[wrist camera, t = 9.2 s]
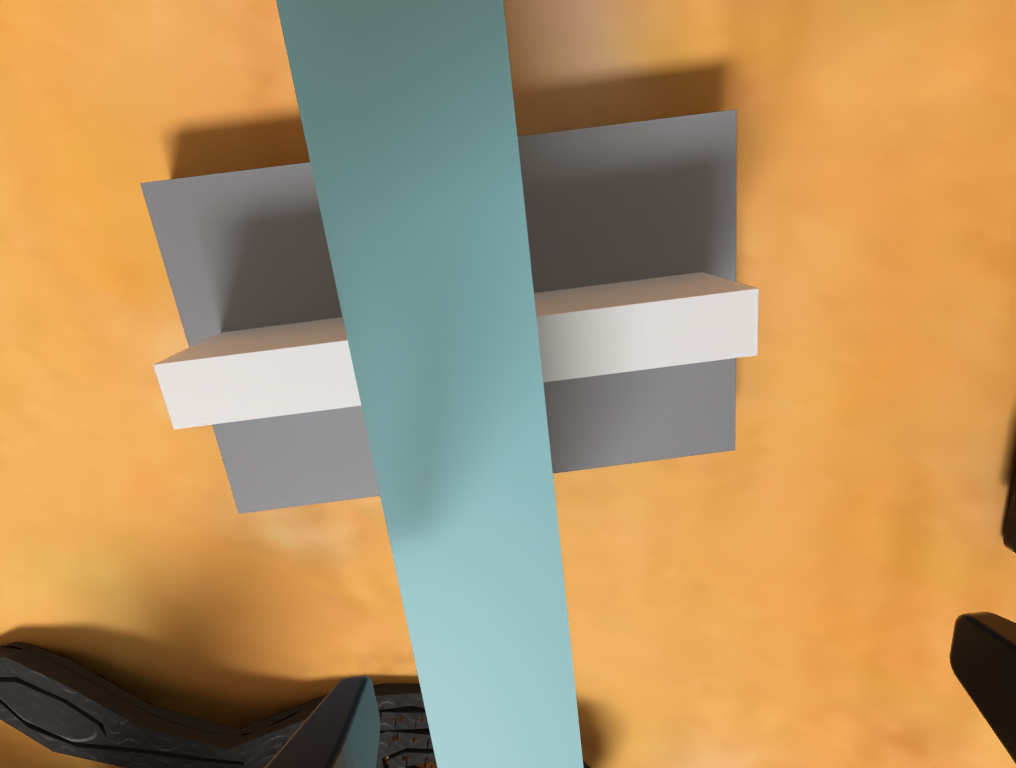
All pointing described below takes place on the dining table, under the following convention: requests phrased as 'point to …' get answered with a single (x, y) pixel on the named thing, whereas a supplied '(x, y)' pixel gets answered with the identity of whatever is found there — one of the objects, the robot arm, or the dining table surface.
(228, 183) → the ridge stand
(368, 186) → the batten
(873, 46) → the dining table surface
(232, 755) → the hairbrush
